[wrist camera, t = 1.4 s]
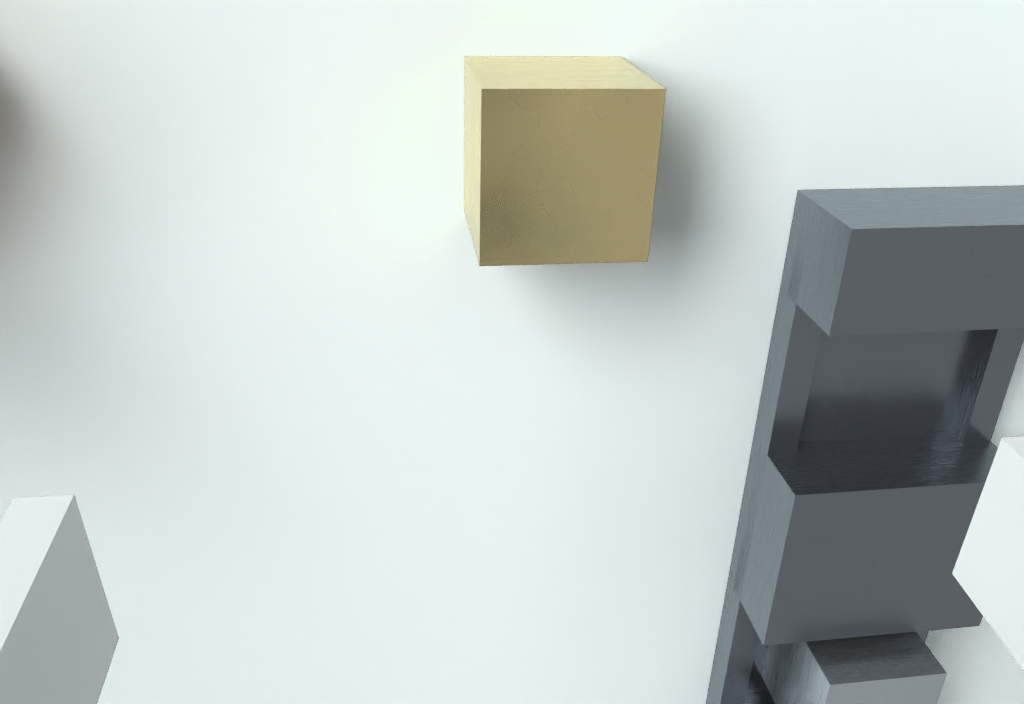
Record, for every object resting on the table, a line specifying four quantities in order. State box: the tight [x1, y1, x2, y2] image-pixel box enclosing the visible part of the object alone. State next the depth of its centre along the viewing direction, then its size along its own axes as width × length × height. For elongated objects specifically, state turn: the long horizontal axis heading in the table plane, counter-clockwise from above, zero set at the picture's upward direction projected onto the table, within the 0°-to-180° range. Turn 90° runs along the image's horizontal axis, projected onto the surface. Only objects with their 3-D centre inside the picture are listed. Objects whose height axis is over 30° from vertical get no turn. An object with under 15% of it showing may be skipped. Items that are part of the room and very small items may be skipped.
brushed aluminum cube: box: [762, 632, 947, 704], centre depth 39 cm, size 5×5×5 cm
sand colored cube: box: [464, 56, 666, 266], centre depth 27 cm, size 5×5×5 cm
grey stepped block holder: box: [706, 186, 1024, 704], centre depth 37 cm, size 28×10×4 cm, turn 179°
